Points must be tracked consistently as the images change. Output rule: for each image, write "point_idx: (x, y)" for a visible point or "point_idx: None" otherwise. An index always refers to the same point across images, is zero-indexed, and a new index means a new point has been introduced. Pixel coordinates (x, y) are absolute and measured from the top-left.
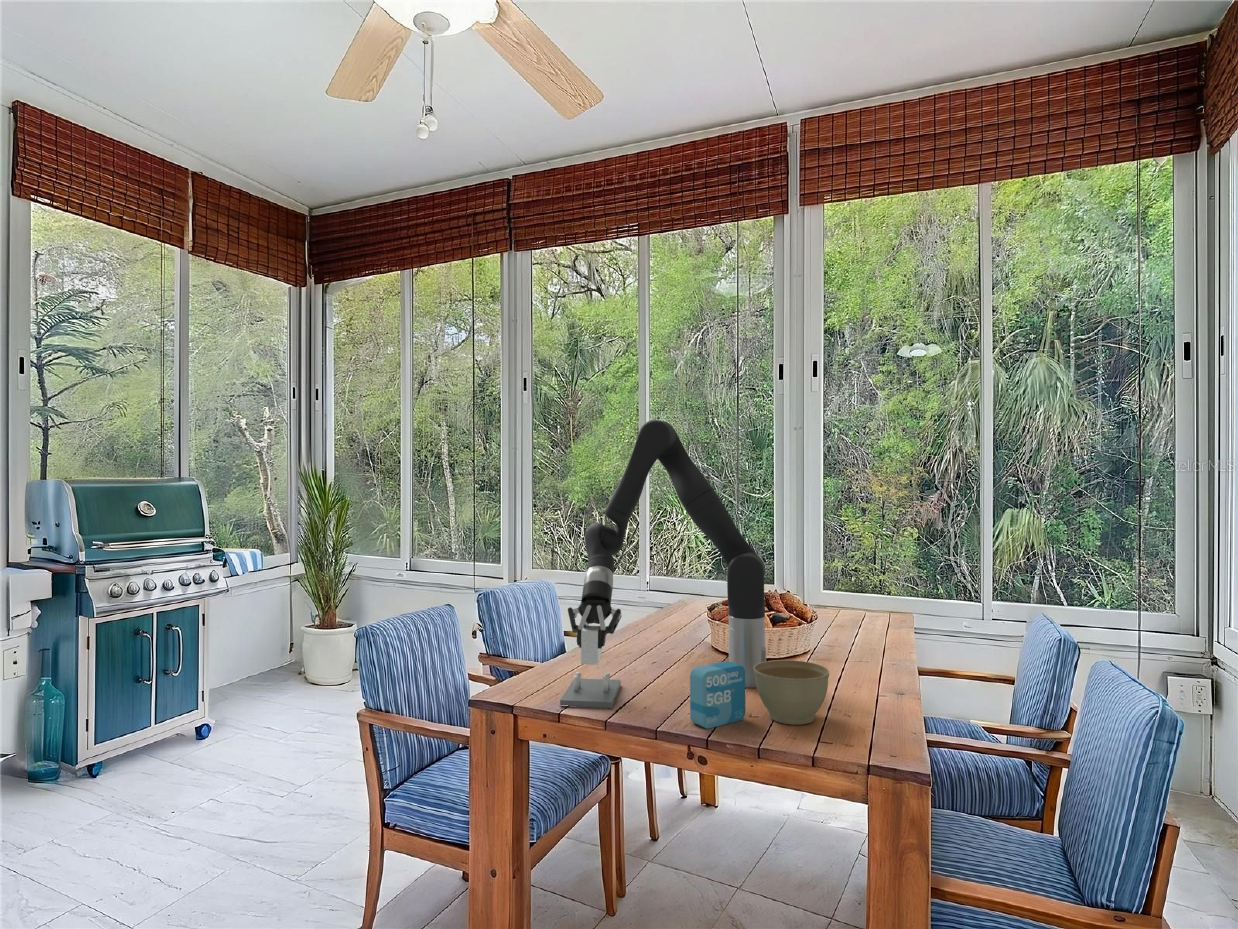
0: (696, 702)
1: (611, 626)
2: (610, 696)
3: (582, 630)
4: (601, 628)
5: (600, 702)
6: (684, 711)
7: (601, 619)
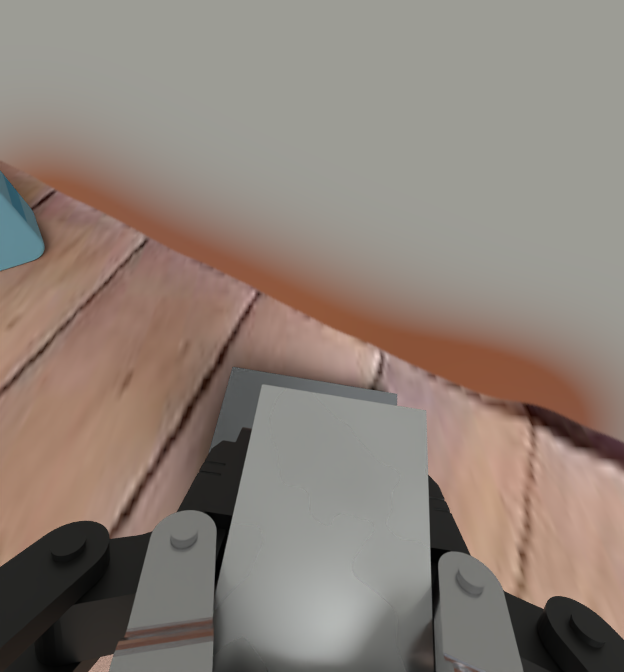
0: (5, 186)
1: (61, 533)
2: (228, 425)
3: (415, 412)
4: (206, 535)
5: (268, 374)
6: (16, 340)
7: (162, 661)
